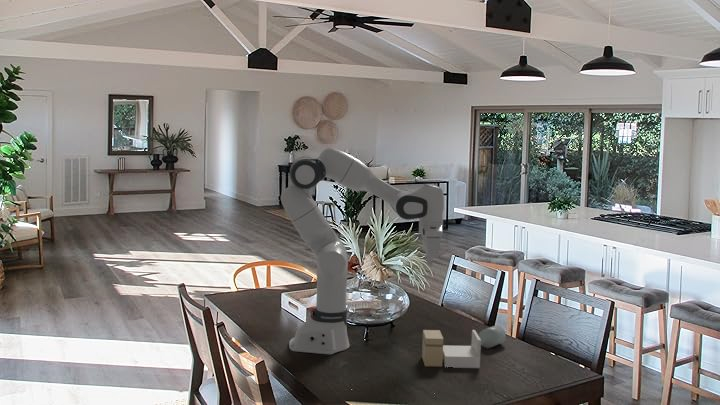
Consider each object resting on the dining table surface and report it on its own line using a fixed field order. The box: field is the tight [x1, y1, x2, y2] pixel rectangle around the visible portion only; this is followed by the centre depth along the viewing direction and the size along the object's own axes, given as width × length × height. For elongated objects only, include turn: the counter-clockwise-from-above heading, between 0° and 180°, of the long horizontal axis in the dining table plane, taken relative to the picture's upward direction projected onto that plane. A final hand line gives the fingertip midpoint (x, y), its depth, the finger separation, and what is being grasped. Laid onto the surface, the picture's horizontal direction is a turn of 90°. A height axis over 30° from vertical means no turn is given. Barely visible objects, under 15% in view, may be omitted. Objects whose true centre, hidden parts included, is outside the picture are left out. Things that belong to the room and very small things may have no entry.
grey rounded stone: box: [478, 324, 507, 349], centre depth 249 cm, size 7×7×8 cm
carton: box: [421, 329, 444, 367], centre depth 231 cm, size 10×9×6 cm
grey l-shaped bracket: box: [442, 329, 482, 369], centre depth 231 cm, size 12×11×10 cm
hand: (429, 265), depth 243 cm, fingers closed
